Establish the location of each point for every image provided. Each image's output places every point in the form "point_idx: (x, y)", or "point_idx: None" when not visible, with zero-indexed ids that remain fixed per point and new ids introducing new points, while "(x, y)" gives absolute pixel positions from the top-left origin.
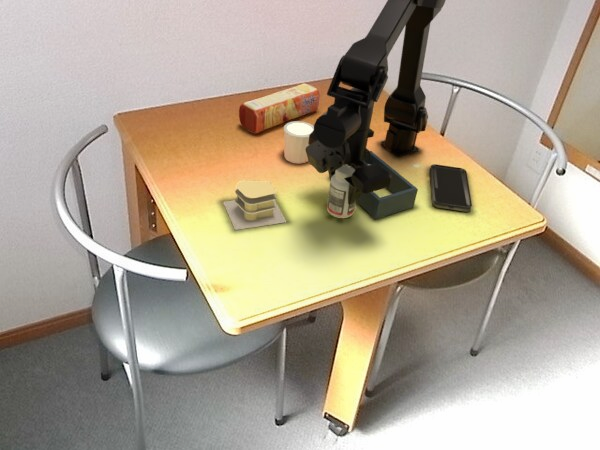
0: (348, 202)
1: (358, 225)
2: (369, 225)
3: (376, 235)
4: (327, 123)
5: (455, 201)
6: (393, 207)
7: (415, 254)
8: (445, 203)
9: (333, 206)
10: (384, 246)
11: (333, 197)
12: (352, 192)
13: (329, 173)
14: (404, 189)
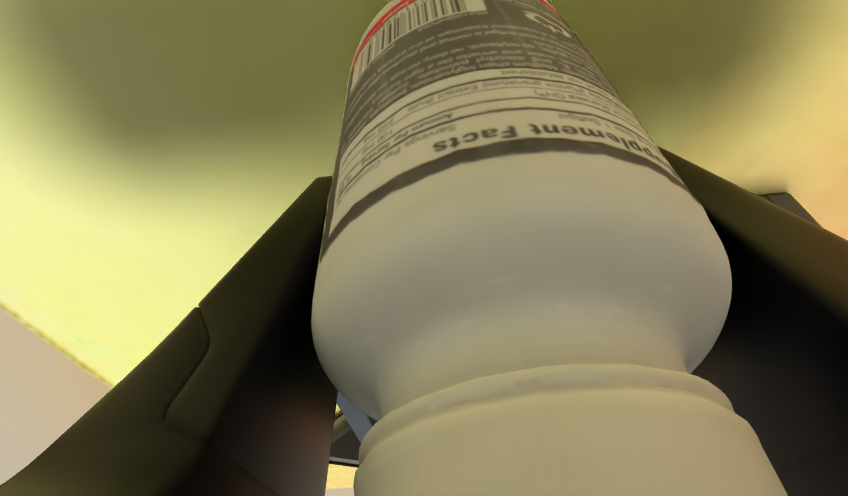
0: (322, 185)
1: (283, 135)
2: (275, 192)
3: (169, 187)
4: None
5: (349, 447)
6: None
7: (17, 277)
8: (345, 433)
9: (417, 22)
10: (52, 183)
11: (440, 66)
12: (162, 342)
13: (823, 249)
14: None
